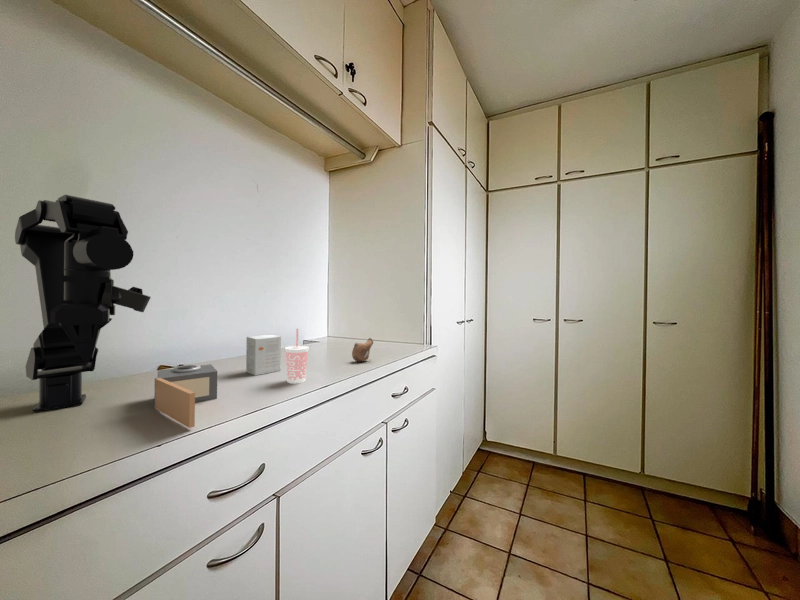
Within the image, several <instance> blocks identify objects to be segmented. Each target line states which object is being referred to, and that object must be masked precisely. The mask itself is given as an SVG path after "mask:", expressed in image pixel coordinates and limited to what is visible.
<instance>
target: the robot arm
mask: <svg viewBox="0 0 800 600" xmlns="http://www.w3.org/2000/svg"><path fill="white" fill-rule="evenodd" d="M43 221H47V222H53V223H56V225H57V226H58V227H57V226H50V225H42V223H43ZM128 233H129V231H128V229H127V227H126V225H125V222H124V221H123V218H121V214H120V212H119V211H117V210H116V207H115V206H114V204H112V203H109V202H104V201H98V200H94V199H89V198H84V197H78V196H74V195H69V194H63V195H62V196H59V197H58V198H57V199H56V200H55V201H53V200H52V201H51V200H46V199H43V200H37V203H36V205H35V208H34V209H32V210H31V211H28V212H26V213H24V214H22V215H20V216H19V217H18V220H17V224H16V227H15V231H14V241H15V245H19V247H20V252H21V256H22V257H23V258H24V259H26V260H27V261H28V262H29V263H31V264H32V265H33V266H34V267H35V268H34V269H35V274H36V282H37V289H38V296H39V303H40V310H41V318H42V325H43V329H42V331H41V332H40V333H39V335H37V338H36V339H35V341H34V342H33V345H32V346H33V347H31V348H30V350H29V354H28V357H27V360H26V364H25V374H26V377H27V378H28V379H30V380H31V381H36V380H39V382H38V383H39V385H38V387H39V391H38V392H39V396H38V397H39V401H38V403H36V405H35V406H34V407H33V408H32V412H36V413H37V412H41V411H47V410H55V409H56V410H57V409H62V408H68V407H73V406H76V407H77V406H82V405H83V403H84V402H85V400H86V398H87V394H86V393H84V394H82V393H83V391H82V389H83V387H82V386H83V385H82V382H83V381H82V379H83V378H82V377H83V373H85V372H86V373H87V372H94V370H95V369H96V361H97V356H98V353H99V348H98V347H97V342H98V340H99V336H100V333H101V330H102V329H103V328H104V327H105V326H106V325H109V323H110V322H111V321H112V320H113V318H110V316H116V305H117V306H122V307H125V308H129V309H133V311H136V312H139V313H145V310H146V308H147V305H148V304H149V303H150V302H149V301H150V300H151V296H149V295H146V294H144V292H143V288H140V287H135V286H131V288H128V289H126V288H122V287H118V286H115V285H114V284H115V283H114V282H115V281H114V279H113V278H112V276H111V271H115V270H120V269H124V268H125V267H127V266H129V264H131V262H132V261H133V258H134V250H133V248H132V246H131V244H130V243H129V242H128V241H127V238H128Z"/></svg>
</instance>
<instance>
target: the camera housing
mask: <svg viewBox="0 0 800 600" xmlns="http://www.w3.org/2000/svg"><path fill="white" fill-rule="evenodd" d="M157 378H162V379H164V380H167V381H169V382H171V383H174V384H176V385H178V386H181V387H183V388H185V389H188V390H190V391H193V392H195V403H198V401H199V402H204V400H205V401H209V400H210V399H211V400H215V399H218V370H217V369H216V368H215V367H214V366H213V365H212V364H201V365H199V364H187V365H179V366H176V367H174V368H165V369H157Z"/></svg>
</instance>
